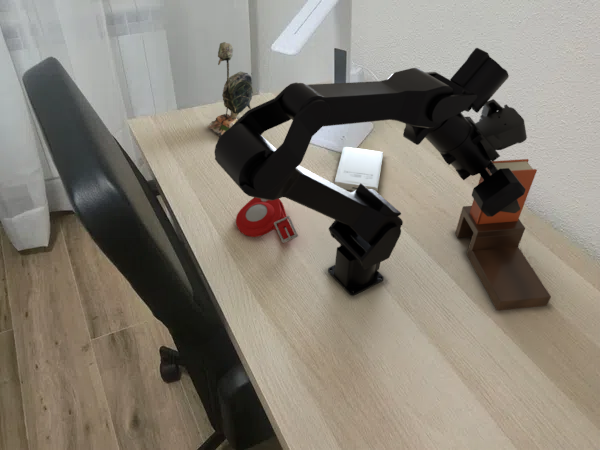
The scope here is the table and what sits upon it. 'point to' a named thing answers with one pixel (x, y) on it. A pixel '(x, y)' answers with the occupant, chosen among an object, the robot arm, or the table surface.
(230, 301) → the table surface
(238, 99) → the plant with pod
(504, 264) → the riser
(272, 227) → the tracker holder
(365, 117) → the robot arm
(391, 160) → the table surface
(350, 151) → the hard drive
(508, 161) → the book
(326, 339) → the table surface
